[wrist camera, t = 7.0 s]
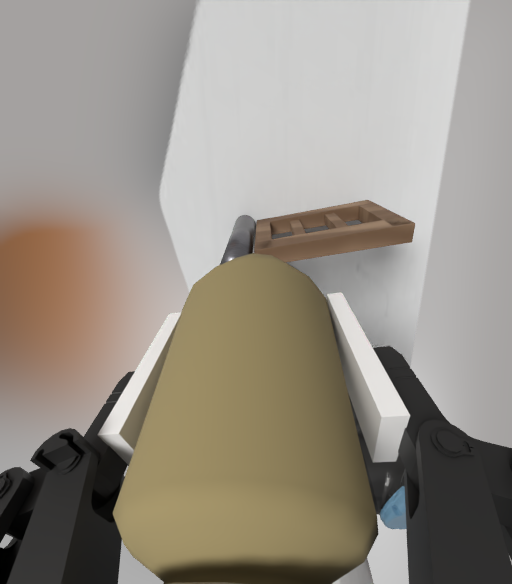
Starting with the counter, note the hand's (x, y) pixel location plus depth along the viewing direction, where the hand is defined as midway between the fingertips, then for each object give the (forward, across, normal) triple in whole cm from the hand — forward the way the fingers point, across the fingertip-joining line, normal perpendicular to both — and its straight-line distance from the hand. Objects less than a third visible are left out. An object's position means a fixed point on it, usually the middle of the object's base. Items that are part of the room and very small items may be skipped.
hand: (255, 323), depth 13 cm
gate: (+22, -7, 0) cm, 24 cm away
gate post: (+24, +2, +1) cm, 25 cm away
